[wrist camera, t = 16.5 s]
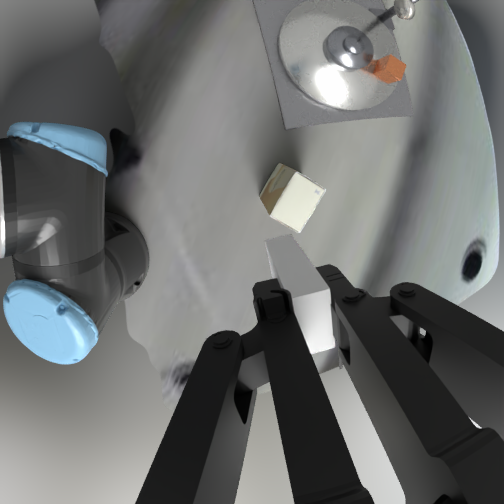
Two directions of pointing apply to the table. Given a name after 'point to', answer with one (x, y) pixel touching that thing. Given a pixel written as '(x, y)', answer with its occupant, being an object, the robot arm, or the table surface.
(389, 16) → the post
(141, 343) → the table surface
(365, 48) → the cover
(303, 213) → the skincare box
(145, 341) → the table surface
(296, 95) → the turntable base
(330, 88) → the platter
